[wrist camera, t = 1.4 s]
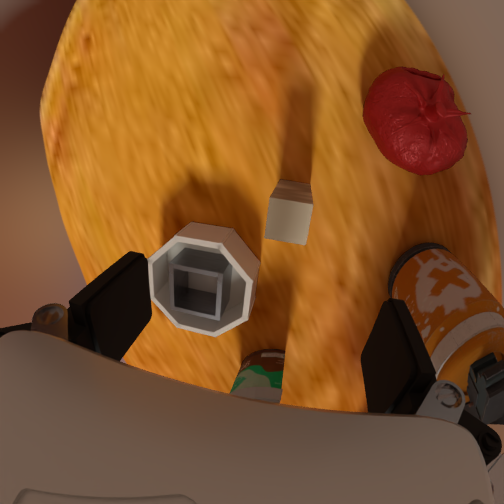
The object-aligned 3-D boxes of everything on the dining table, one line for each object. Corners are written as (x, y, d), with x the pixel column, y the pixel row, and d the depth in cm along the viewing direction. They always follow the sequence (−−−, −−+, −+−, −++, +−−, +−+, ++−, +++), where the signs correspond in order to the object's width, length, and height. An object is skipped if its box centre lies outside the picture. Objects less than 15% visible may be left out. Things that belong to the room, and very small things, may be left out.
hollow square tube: (233, 256, 31) (223, 273, 27) (229, 300, 33) (219, 320, 29) (184, 247, 31) (168, 262, 28) (184, 290, 34) (170, 309, 30)
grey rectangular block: (310, 184, 27) (313, 204, 19) (305, 213, 28) (305, 245, 20) (280, 179, 28) (269, 197, 19) (276, 208, 29) (264, 238, 21)
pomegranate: (406, 188, 25) (445, 212, 17) (336, 117, 24) (352, 106, 16) (461, 127, 21) (512, 130, 13) (396, 55, 20) (431, 26, 12)
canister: (447, 228, 26) (560, 338, 8) (458, 306, 29) (526, 425, 11) (377, 258, 29) (443, 409, 11) (398, 332, 32) (437, 471, 14)
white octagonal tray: (264, 232, 30) (258, 248, 26) (252, 320, 34) (245, 344, 30) (164, 217, 31) (145, 229, 27) (166, 301, 36) (151, 320, 32)
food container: (241, 330, 35) (221, 388, 26) (288, 342, 35) (280, 403, 26) (226, 387, 40) (209, 439, 31) (265, 397, 40) (254, 451, 31)
